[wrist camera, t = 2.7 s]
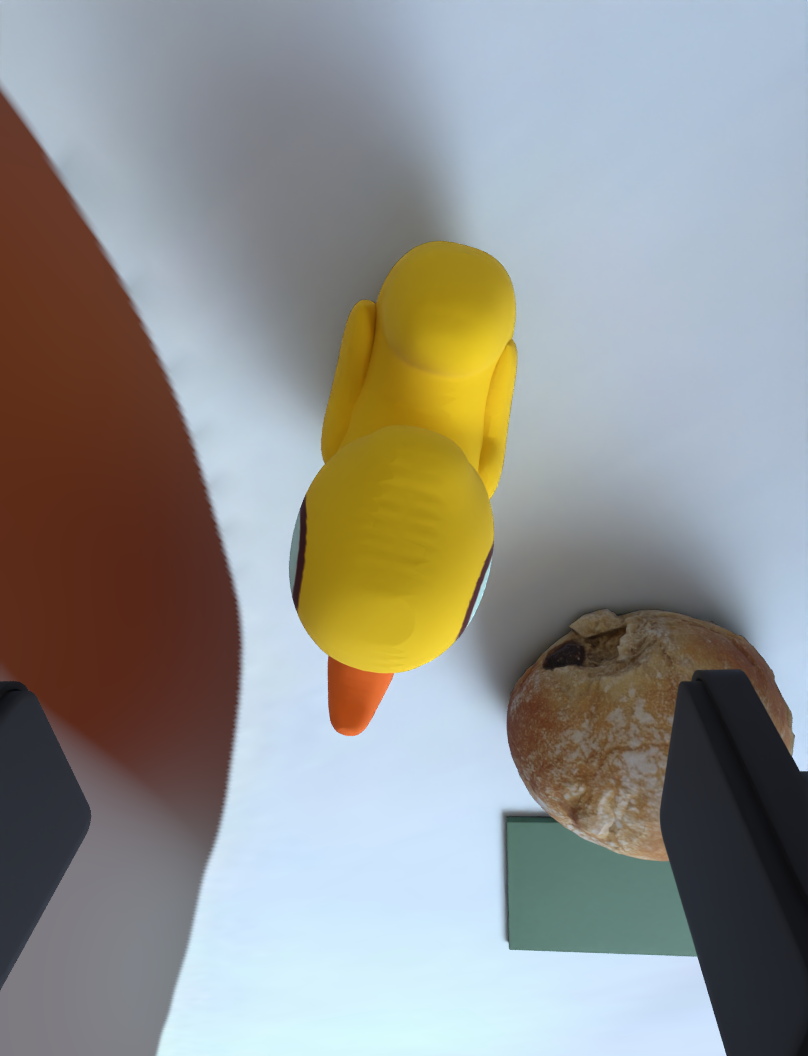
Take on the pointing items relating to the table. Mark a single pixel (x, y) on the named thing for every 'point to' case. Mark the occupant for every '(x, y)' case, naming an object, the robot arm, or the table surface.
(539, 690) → the bread roll
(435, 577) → the duckling
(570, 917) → the napkin
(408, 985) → the table surface
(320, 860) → the table surface
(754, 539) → the table surface
